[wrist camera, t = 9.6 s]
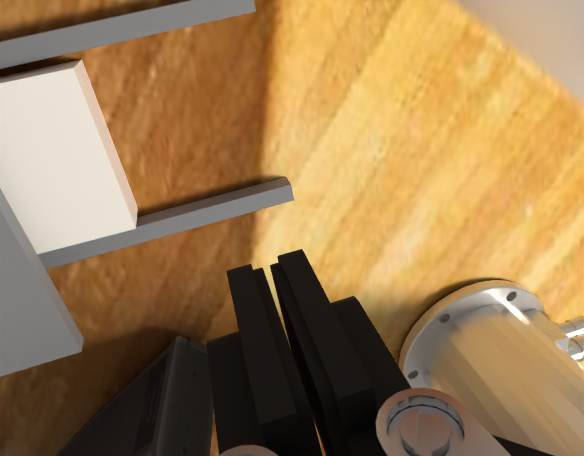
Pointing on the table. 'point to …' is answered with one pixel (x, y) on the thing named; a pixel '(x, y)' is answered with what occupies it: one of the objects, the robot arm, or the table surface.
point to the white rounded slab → (60, 159)
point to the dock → (32, 267)
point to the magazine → (156, 410)
